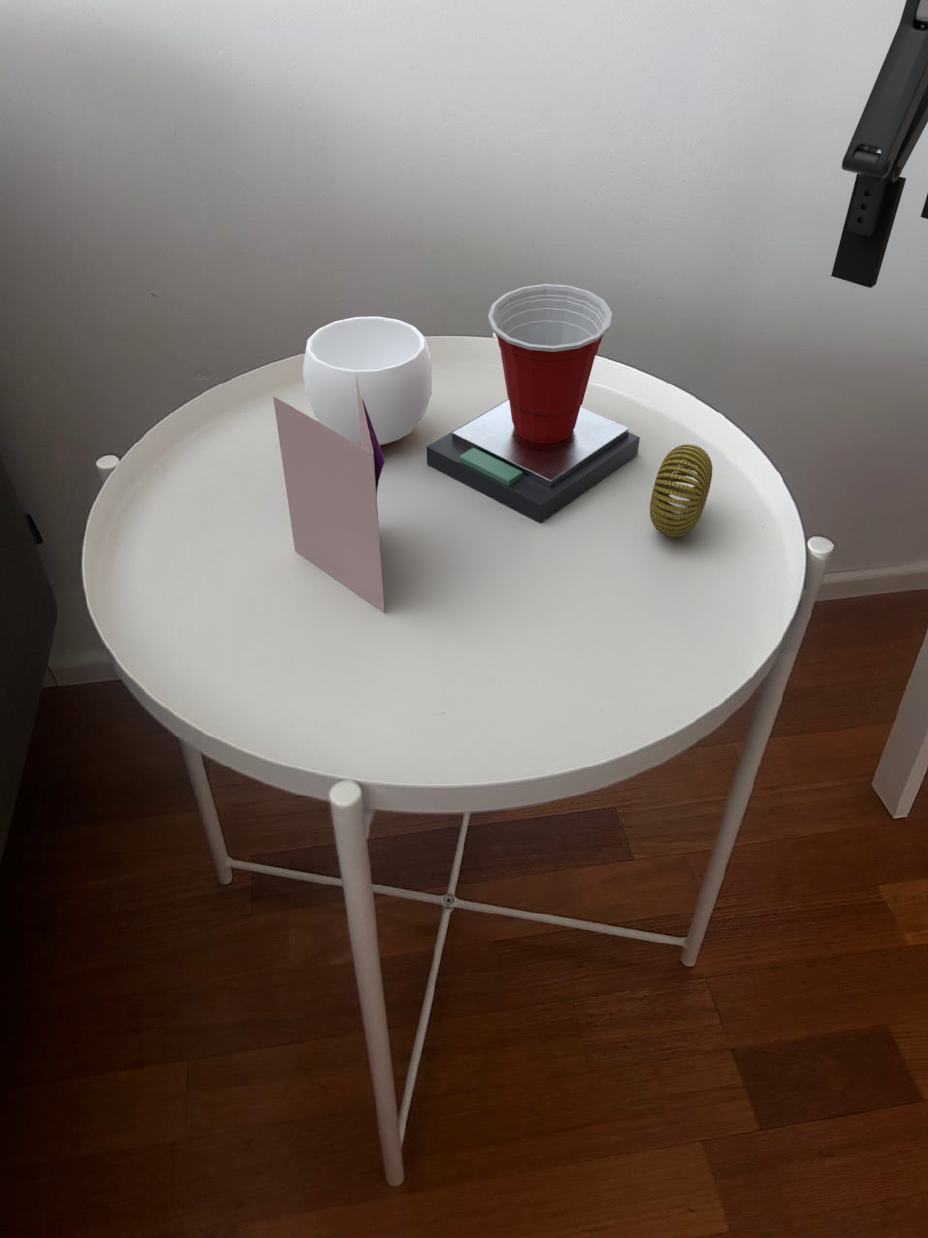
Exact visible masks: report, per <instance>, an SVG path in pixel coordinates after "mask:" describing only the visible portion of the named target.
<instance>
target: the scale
mask: <svg viewBox="0 0 928 1238" xmlns="http://www.w3.org/2000/svg"><path fill="white" fill-rule="evenodd" d="M640 440H641V436H638V435H637V434H634V433H631V432H630V427H628V426H626V425H623V424H621V423H618V422H616V421H614V420H612V419H609V418H607V417H604V416H603V415H600V414H598V413H595V412H593V411H591V410H588V409H587V408H584V407H582V406H580V410H579V414H578V418H577V421H576V425H575V428H574V429H573V433H572V434H571V435H570V436H569V437H568V438H567V439H565V440H562V441H560V442H557V443H548V444H543V443H534V442H531V441H528V440H525V439H523V438H522V437H520V436H519V435H518V434H517V433H516V431H515V429H514V425H513V422H512V417H511V409H510V402H509V398H507V399H506V400H504V401H502V402H501V403H499V404H497V405H495V406H493V407H492V408H491V409H489V410H487V411H485V412H483V413H482V414H479V416H477V417H475V418H473V419H472V420H470V421H468V422H466V423H465V424H463V425H461V426H459V427H458V428H456V429H454V430H453V431H451V432H449V433H448V434H446V435H444V436H442V437H441V438H439V439H438V440H436V441H434V442H432V443H431V444H428V445H427V446H426V465H427V466H429V467H431V468H433V469H435V470H437V471H438V472H440V473H442V474H445V475H447V476H448V477H450V478H452V479H454V480H456V481H458V482H460V483H462V484H464V485H465V486H467V487H470V488H471V489H474V490H476V491H478V492H480V493H481V494H483V495H485V496H487V497H489V498H491V499H493V500H494V501H497V502H498V503H501V504H503V505H505V506H506V507H509V508H510V509H512V510H514V511H516V512H518V513H520V514H522V515H524V516H526V517H527V518H529V519H531V520H533V521H535V522H537V523H539V524H541V523H543V522H544V521H546V520H547V519H549V518H551V517H552V516H553V515H554V514H556V513H558V512H559V511H560V510H561V509H563V508H564V507H566V506H567V505H569V504H570V503H571V502H574V501H575V499H577V498H579V497H580V496H581V495H583V494H585V492H587V491H588V490H590V489H591V488H593V487H594V486H595V485H597V484H598V483H600V482H601V481H603V480H604V479H605V478H607V477H608V476H610V475H611V474H612V473H614V472H615V471H617V470H618V469H619V468H621V467H622V466H624V465H625V464H626V463H628V462H630V461H631V460H632V459H634V458H635V457H636V456H638V454H639V447H640Z"/></svg>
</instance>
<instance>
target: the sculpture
mask: <svg viewBox="0 0 928 1238" xmlns="http://www.w3.org/2000/svg"><path fill="white" fill-rule="evenodd" d="M692 478H693V479H692ZM712 479H713V463H712V460H711V458H710V456H709V454H708V453H707V452H706V450H705V449H703V448H701V447H700V446H698V445H695V444H689V443H687V444H682V445H678V446H676V447H675V448H673V449H671V450H670V451H669V452H668V453H667V454H666V456H665V457H664V459H663V460H662V462H661V465H660V467H659V468H658V471H657V474H656V478H655V481H654V483H653V486H652V488H653V489H652V491H651V495H650V496H651V497H650V503H649V516H650V521H651V523H652V525H653V527H654V528H655V529H656V530H657V532H659V533H661V534H662V535H664V536H666V537H671V538H679V537H682V536H685V535H687V534H689V533H690V532H691V531H693V530H694V528H696V526H697V524H698V523H699V520H700V519H701V517H702V514H703V512H704V509H705V506H706V502H707V499H708V496H709V493H710V489H711V485H712ZM685 484H686V485H685ZM689 485H691V486H689ZM671 495H672V496H675V497H678V498H682V499H683V500H682V499H677V498H675V497H672V496H671ZM676 505H679V506H676Z"/></svg>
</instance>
